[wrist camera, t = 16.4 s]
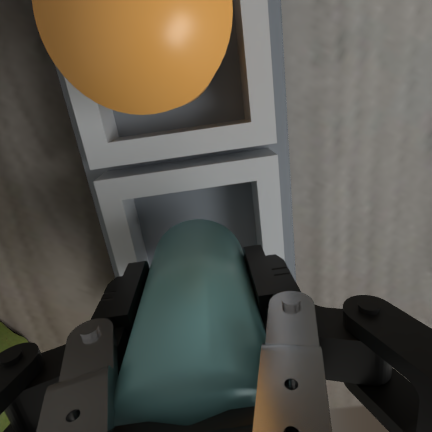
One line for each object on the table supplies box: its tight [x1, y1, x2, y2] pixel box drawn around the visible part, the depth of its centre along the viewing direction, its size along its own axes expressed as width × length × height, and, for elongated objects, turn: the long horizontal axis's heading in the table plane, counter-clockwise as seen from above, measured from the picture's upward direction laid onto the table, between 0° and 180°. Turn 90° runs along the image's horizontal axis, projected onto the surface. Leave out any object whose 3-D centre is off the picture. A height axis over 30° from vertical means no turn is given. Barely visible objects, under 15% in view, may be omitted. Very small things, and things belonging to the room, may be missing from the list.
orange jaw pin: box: [32, 0, 233, 115], centre depth 10 cm, size 4×4×8 cm
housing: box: [55, 0, 296, 282], centre depth 15 cm, size 17×10×3 cm, turn 8°
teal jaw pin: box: [113, 219, 266, 426], centre depth 10 cm, size 4×4×8 cm
